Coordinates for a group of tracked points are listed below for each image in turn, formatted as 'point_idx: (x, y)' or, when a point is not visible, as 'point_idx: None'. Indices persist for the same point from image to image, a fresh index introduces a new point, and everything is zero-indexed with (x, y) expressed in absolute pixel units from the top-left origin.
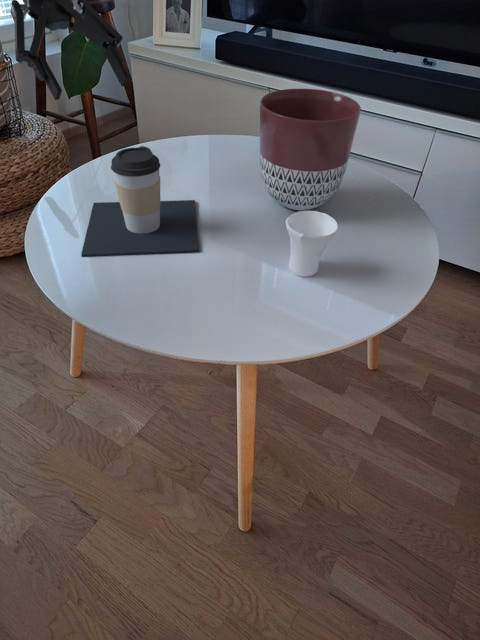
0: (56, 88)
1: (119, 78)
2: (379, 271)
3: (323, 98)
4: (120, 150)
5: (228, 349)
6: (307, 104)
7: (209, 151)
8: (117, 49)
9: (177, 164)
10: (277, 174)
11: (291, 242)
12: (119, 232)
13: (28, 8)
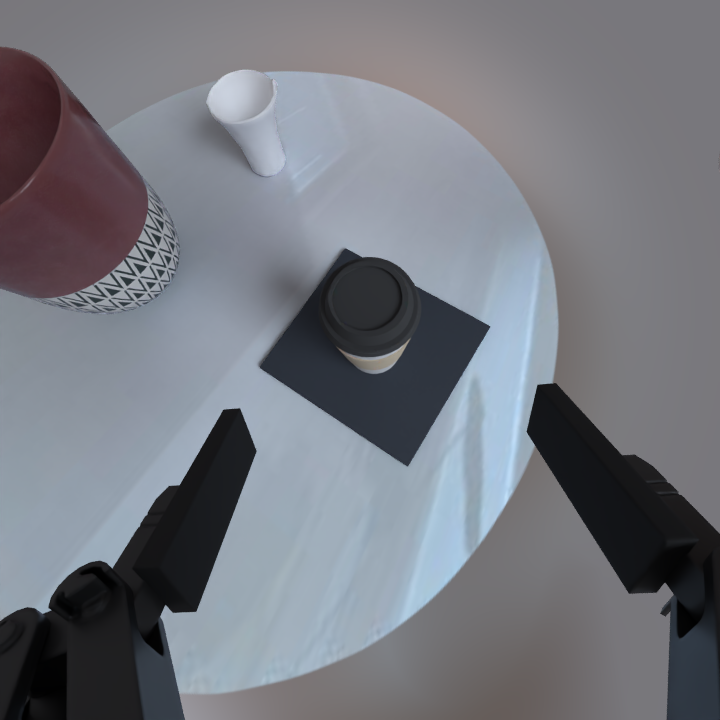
0: (562, 390)
1: (244, 463)
2: (208, 121)
3: None
4: (382, 334)
5: (422, 113)
6: None
7: (86, 541)
8: (124, 557)
9: None
10: (159, 213)
11: (273, 128)
12: (415, 347)
13: None
